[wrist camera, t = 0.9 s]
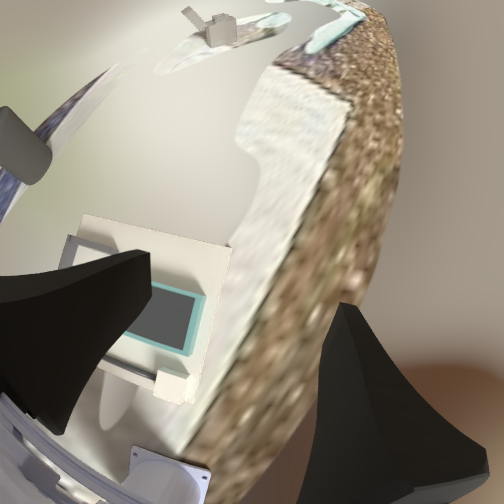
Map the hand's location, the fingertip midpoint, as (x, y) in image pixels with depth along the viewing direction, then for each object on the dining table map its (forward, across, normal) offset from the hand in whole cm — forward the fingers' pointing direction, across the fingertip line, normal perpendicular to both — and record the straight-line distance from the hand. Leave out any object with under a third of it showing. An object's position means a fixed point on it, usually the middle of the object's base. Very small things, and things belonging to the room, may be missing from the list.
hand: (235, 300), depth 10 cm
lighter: (+30, +16, -18) cm, 39 cm away
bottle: (+14, +33, 0) cm, 35 cm away
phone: (+8, +8, +10) cm, 15 cm away
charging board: (+8, +12, +10) cm, 17 cm away
